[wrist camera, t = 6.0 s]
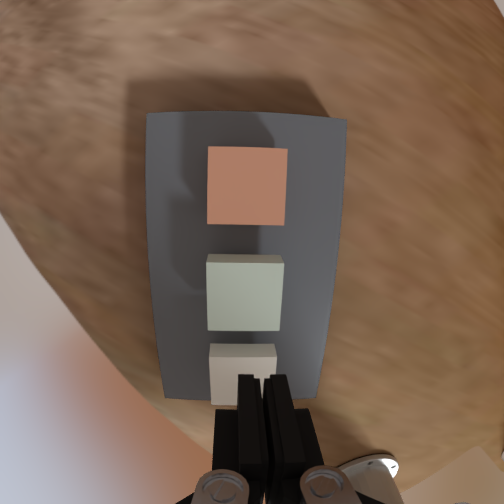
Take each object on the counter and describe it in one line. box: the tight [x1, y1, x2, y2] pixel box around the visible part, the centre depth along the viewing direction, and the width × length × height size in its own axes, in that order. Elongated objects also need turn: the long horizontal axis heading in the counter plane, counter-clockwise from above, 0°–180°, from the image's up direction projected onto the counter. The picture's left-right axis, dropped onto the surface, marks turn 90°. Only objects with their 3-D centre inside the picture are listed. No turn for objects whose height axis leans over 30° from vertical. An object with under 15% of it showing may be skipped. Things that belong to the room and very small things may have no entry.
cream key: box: [209, 343, 277, 405], centre depth 23 cm, size 5×5×2 cm
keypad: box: [145, 111, 347, 400], centre depth 25 cm, size 24×14×3 cm, turn 178°
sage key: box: [206, 254, 284, 331], centre depth 21 cm, size 5×5×2 cm
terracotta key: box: [207, 146, 288, 226], centre depth 20 cm, size 5×5×2 cm
